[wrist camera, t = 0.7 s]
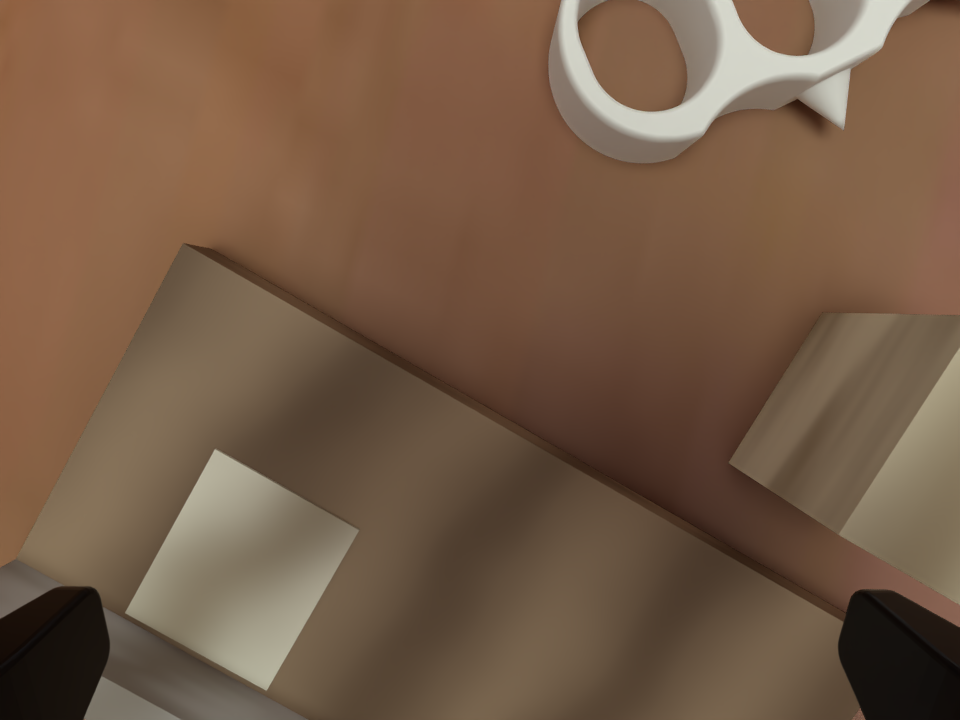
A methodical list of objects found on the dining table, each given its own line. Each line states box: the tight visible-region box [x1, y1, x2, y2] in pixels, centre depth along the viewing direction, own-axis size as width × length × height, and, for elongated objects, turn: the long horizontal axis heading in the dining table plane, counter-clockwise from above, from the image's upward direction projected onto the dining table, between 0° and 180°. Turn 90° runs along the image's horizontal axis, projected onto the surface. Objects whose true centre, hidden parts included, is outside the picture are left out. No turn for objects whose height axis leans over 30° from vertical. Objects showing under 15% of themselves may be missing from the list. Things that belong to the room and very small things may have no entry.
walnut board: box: [0, 243, 860, 720], centre depth 20 cm, size 26×13×4 cm, turn 60°
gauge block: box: [728, 313, 960, 605], centre depth 19 cm, size 4×6×7 cm, turn 150°
